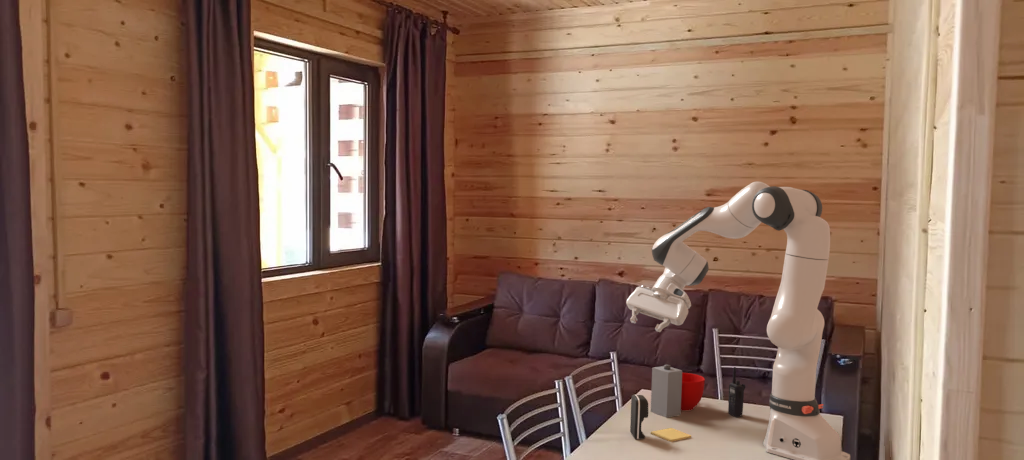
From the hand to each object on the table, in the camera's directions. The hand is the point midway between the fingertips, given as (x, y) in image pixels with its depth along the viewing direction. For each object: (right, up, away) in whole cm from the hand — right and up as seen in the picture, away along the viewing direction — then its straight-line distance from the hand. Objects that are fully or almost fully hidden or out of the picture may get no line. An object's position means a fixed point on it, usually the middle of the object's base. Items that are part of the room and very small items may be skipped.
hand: (644, 326), depth 238 cm
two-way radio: (+29, -28, -1) cm, 40 cm away
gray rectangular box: (+6, -27, -1) cm, 28 cm away
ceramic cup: (+14, -27, +8) cm, 32 cm away
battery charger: (-6, -28, -24) cm, 38 cm away
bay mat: (+3, -28, -23) cm, 37 cm away
